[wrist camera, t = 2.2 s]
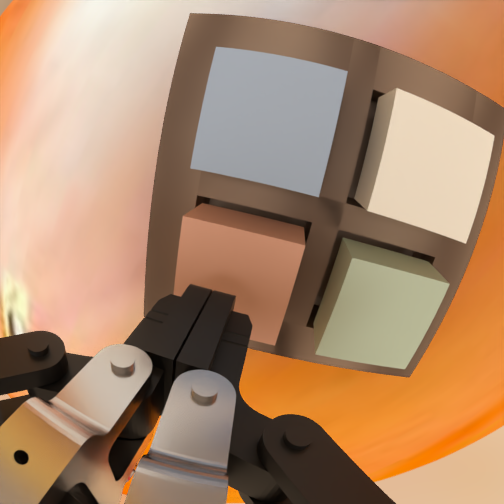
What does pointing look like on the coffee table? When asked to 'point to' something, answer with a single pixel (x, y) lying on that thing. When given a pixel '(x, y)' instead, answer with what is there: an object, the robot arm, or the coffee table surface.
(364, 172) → the cream key
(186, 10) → the coffee table surface
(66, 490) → the robot arm
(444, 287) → the sage key
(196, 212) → the terracotta key
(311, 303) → the keypad housing
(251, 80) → the slate key
